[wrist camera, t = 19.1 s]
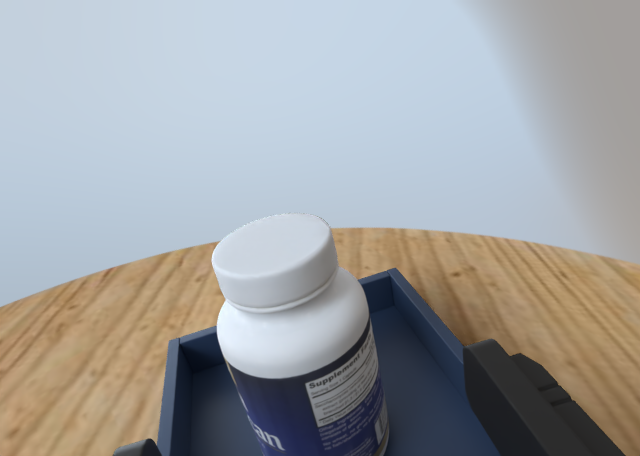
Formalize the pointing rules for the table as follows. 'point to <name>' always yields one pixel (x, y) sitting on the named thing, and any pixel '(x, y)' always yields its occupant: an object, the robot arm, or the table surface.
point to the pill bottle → (299, 340)
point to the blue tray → (396, 373)
